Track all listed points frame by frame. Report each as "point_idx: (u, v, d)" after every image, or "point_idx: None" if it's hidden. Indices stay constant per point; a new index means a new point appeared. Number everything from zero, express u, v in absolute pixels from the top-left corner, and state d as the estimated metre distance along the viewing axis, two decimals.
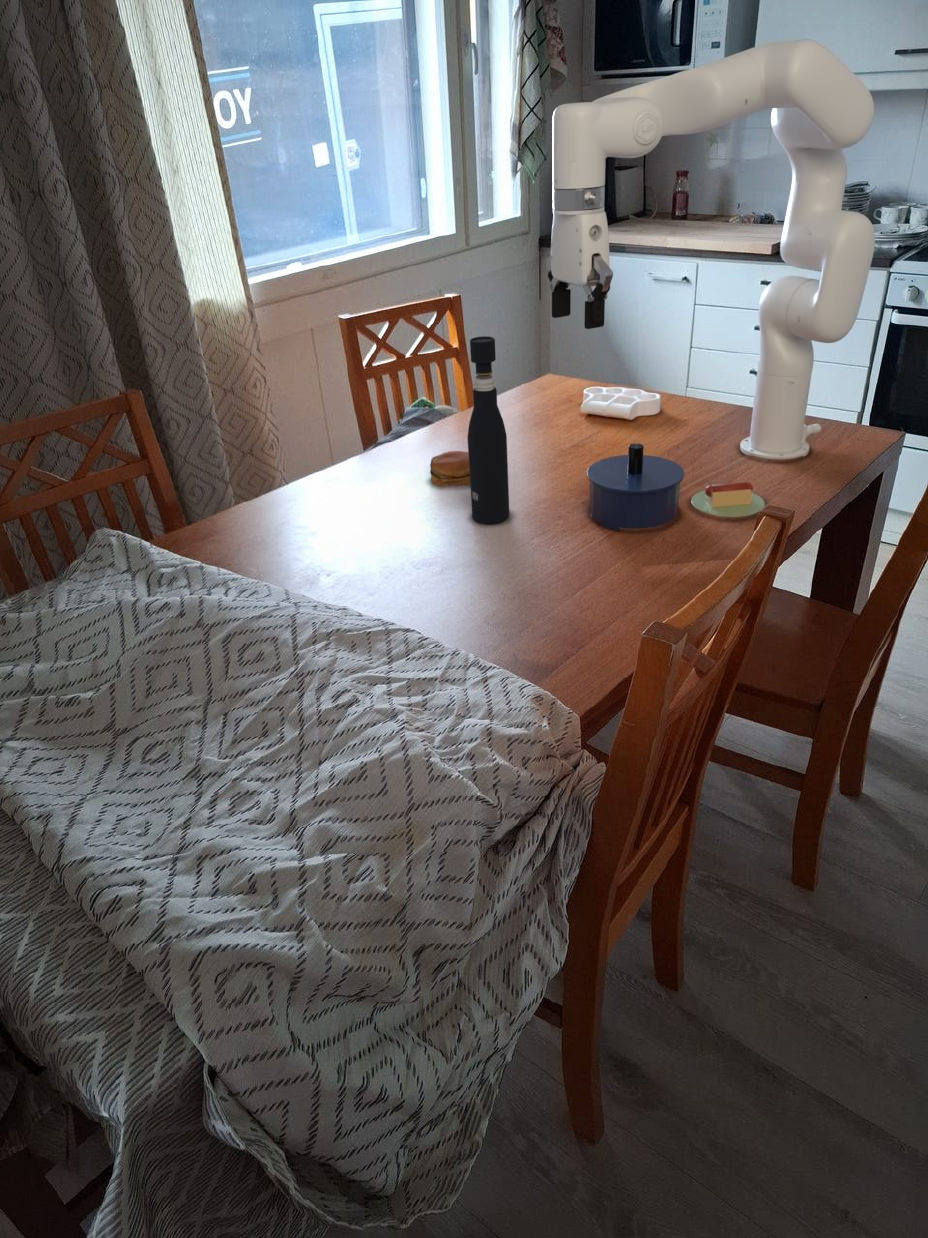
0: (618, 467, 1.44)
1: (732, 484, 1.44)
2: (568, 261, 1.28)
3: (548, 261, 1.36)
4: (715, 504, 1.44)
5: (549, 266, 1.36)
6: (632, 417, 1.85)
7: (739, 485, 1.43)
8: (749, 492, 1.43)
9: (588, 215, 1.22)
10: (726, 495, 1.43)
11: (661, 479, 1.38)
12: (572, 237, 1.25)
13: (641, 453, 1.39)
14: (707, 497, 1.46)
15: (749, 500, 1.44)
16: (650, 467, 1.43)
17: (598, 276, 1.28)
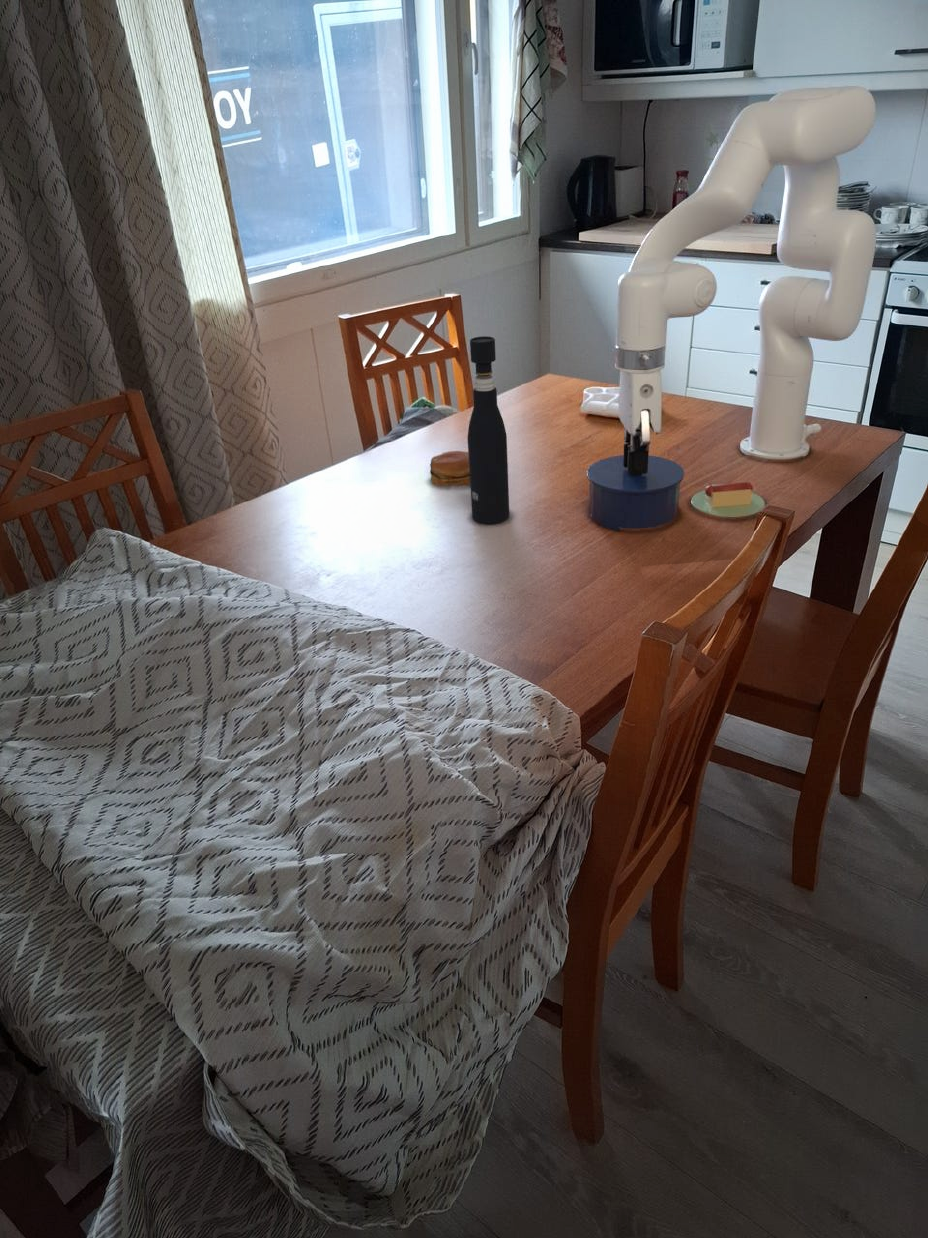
0: (618, 467, 1.44)
1: (732, 484, 1.44)
2: (624, 410, 1.35)
3: None
4: (715, 504, 1.44)
5: None
6: None
7: (739, 485, 1.43)
8: (749, 492, 1.43)
9: (640, 375, 1.29)
10: (726, 495, 1.43)
11: (661, 479, 1.38)
12: (627, 391, 1.32)
13: None
14: (707, 497, 1.46)
15: (749, 500, 1.44)
16: (650, 467, 1.43)
17: None
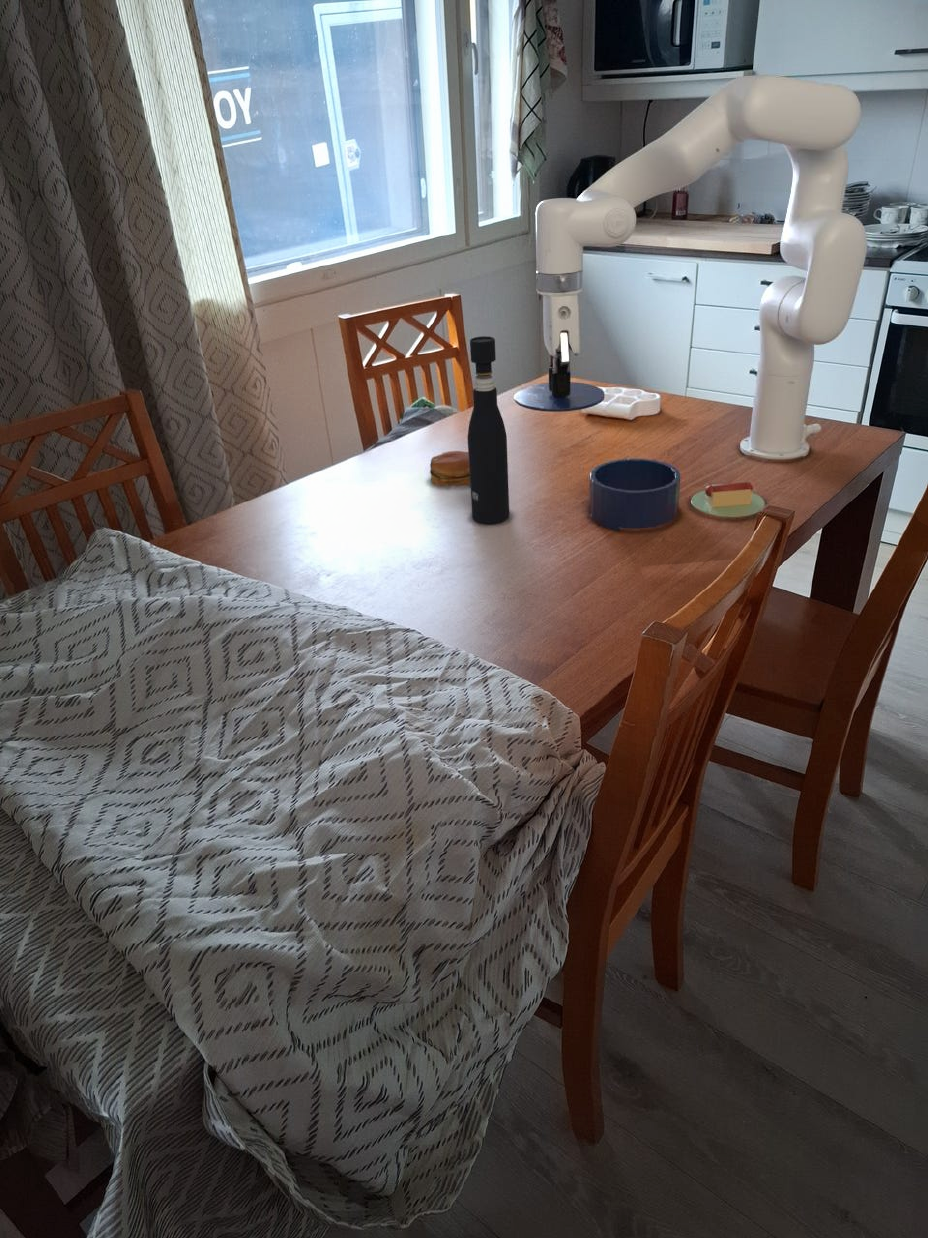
0: (545, 391, 1.53)
1: (732, 484, 1.44)
2: (546, 334, 1.44)
3: None
4: (715, 504, 1.44)
5: None
6: (632, 417, 1.85)
7: (739, 485, 1.43)
8: (749, 492, 1.43)
9: (557, 297, 1.38)
10: (726, 495, 1.43)
11: (582, 400, 1.47)
12: (547, 314, 1.41)
13: None
14: (707, 497, 1.46)
15: (749, 500, 1.44)
16: (574, 391, 1.52)
17: None
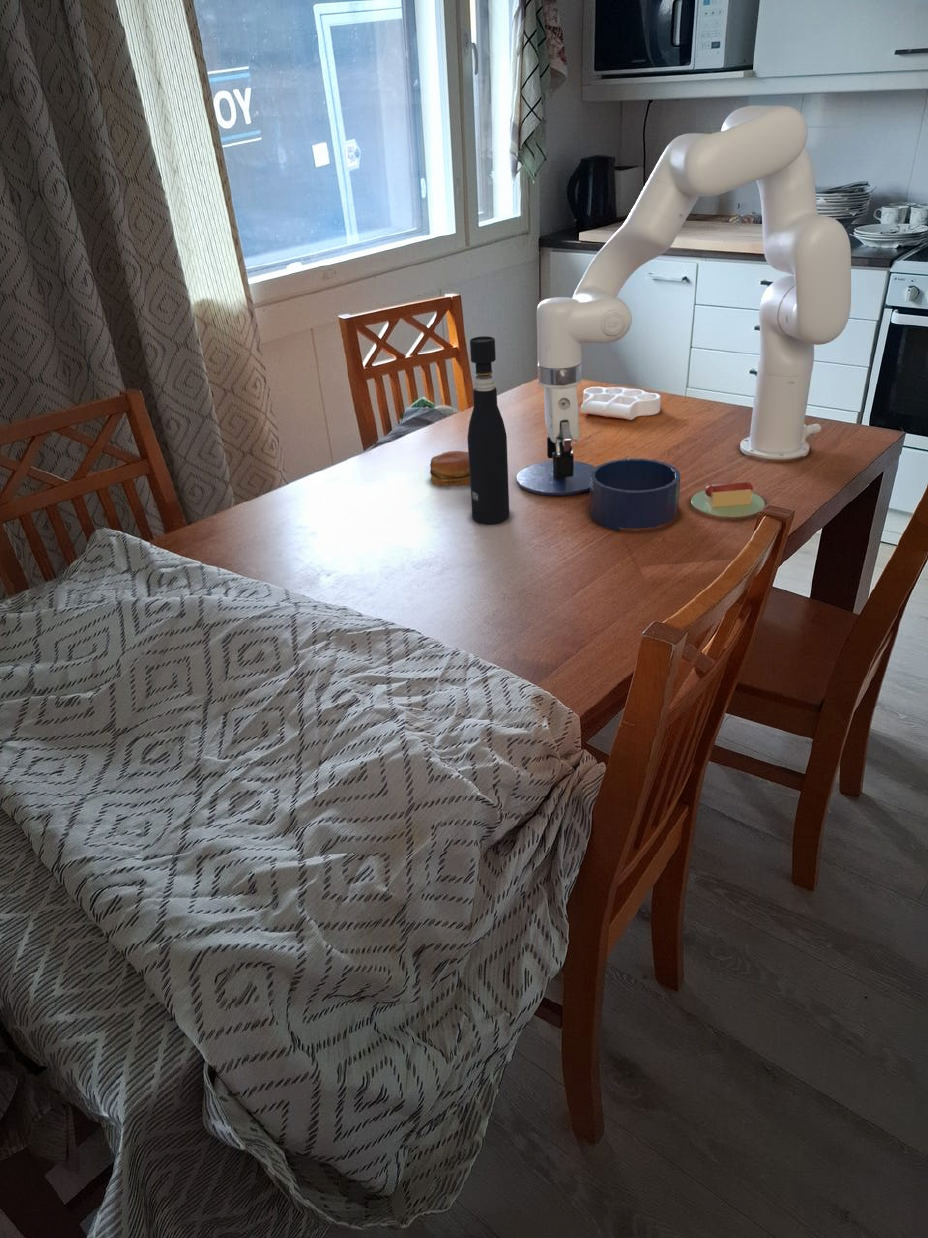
0: (545, 471, 1.61)
1: (732, 484, 1.44)
2: (547, 421, 1.52)
3: None
4: (715, 504, 1.44)
5: None
6: (632, 417, 1.85)
7: (739, 485, 1.43)
8: (749, 492, 1.43)
9: (557, 390, 1.46)
10: (726, 495, 1.43)
11: (581, 482, 1.55)
12: (548, 404, 1.49)
13: None
14: (707, 497, 1.46)
15: (749, 500, 1.44)
16: (573, 471, 1.60)
17: None
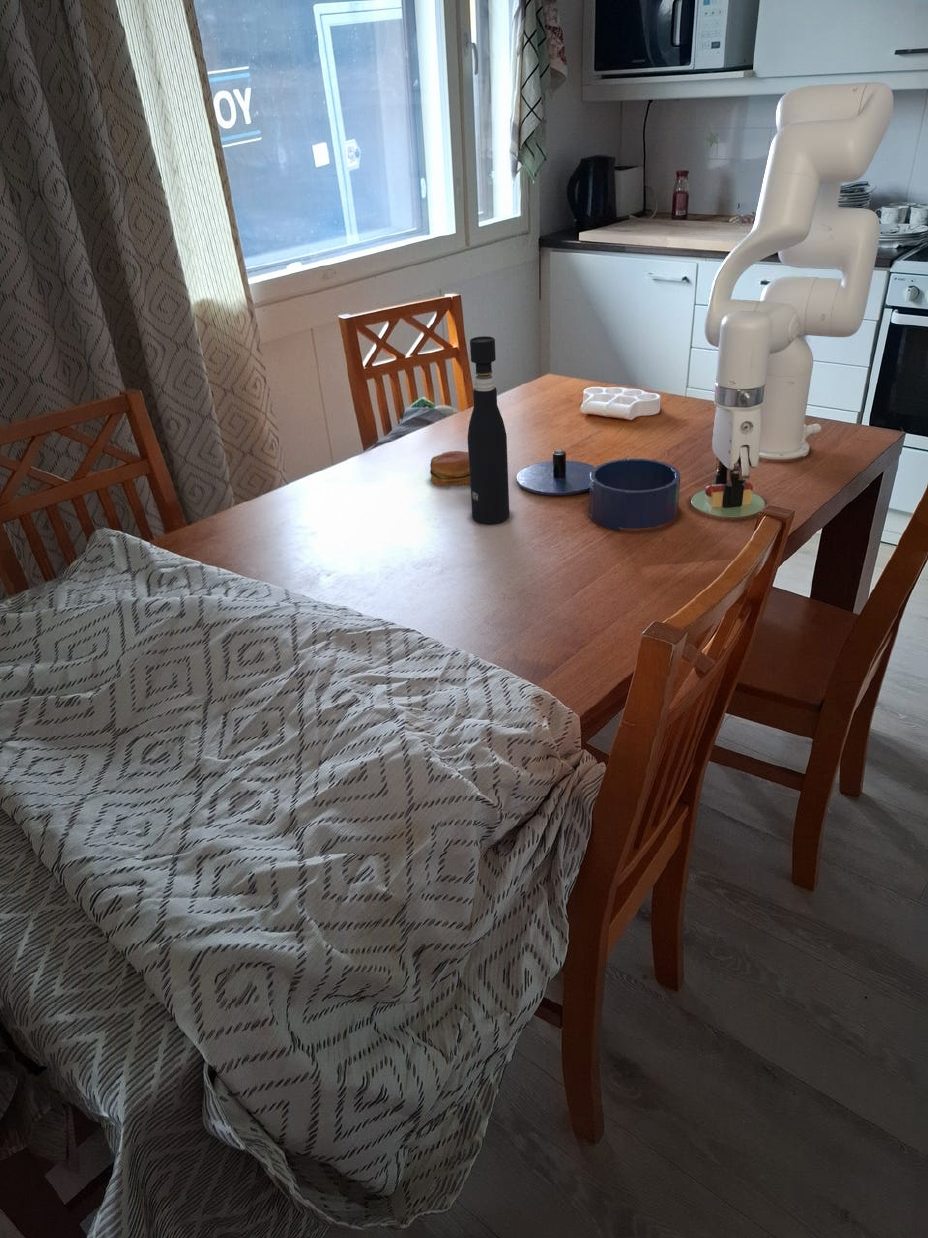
0: (545, 471, 1.61)
1: None
2: (721, 445, 1.39)
3: None
4: (715, 504, 1.44)
5: None
6: (632, 417, 1.85)
7: None
8: (749, 492, 1.43)
9: (741, 412, 1.33)
10: None
11: (581, 482, 1.55)
12: (726, 427, 1.36)
13: (563, 459, 1.56)
14: (707, 497, 1.46)
15: (749, 500, 1.44)
16: (573, 471, 1.60)
17: None
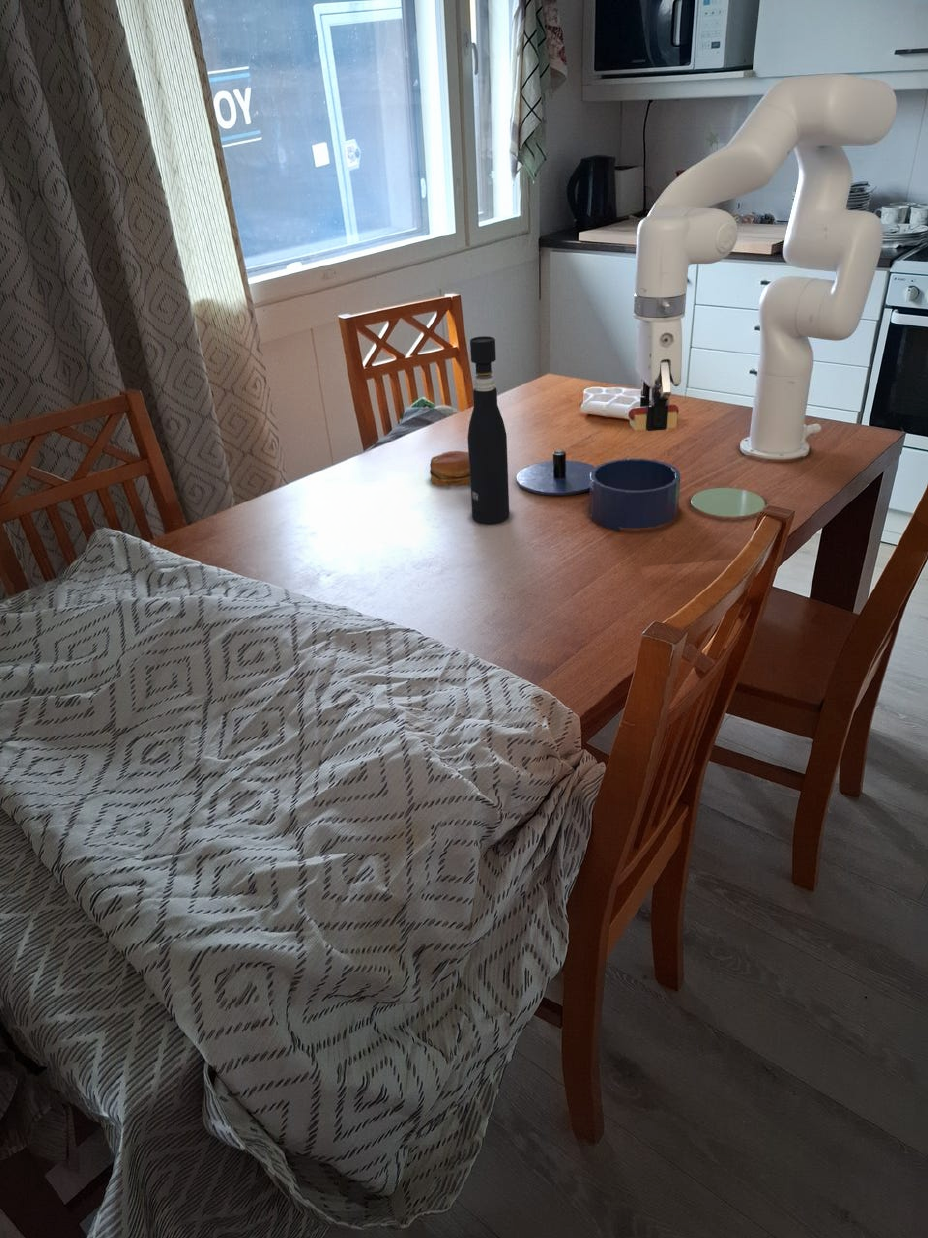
0: (545, 471, 1.61)
1: None
2: (643, 362, 1.31)
3: None
4: (638, 427, 1.36)
5: None
6: None
7: None
8: (674, 414, 1.35)
9: (660, 323, 1.25)
10: None
11: (581, 482, 1.55)
12: (646, 341, 1.28)
13: (563, 459, 1.56)
14: (631, 421, 1.38)
15: (674, 423, 1.36)
16: (573, 471, 1.60)
17: None
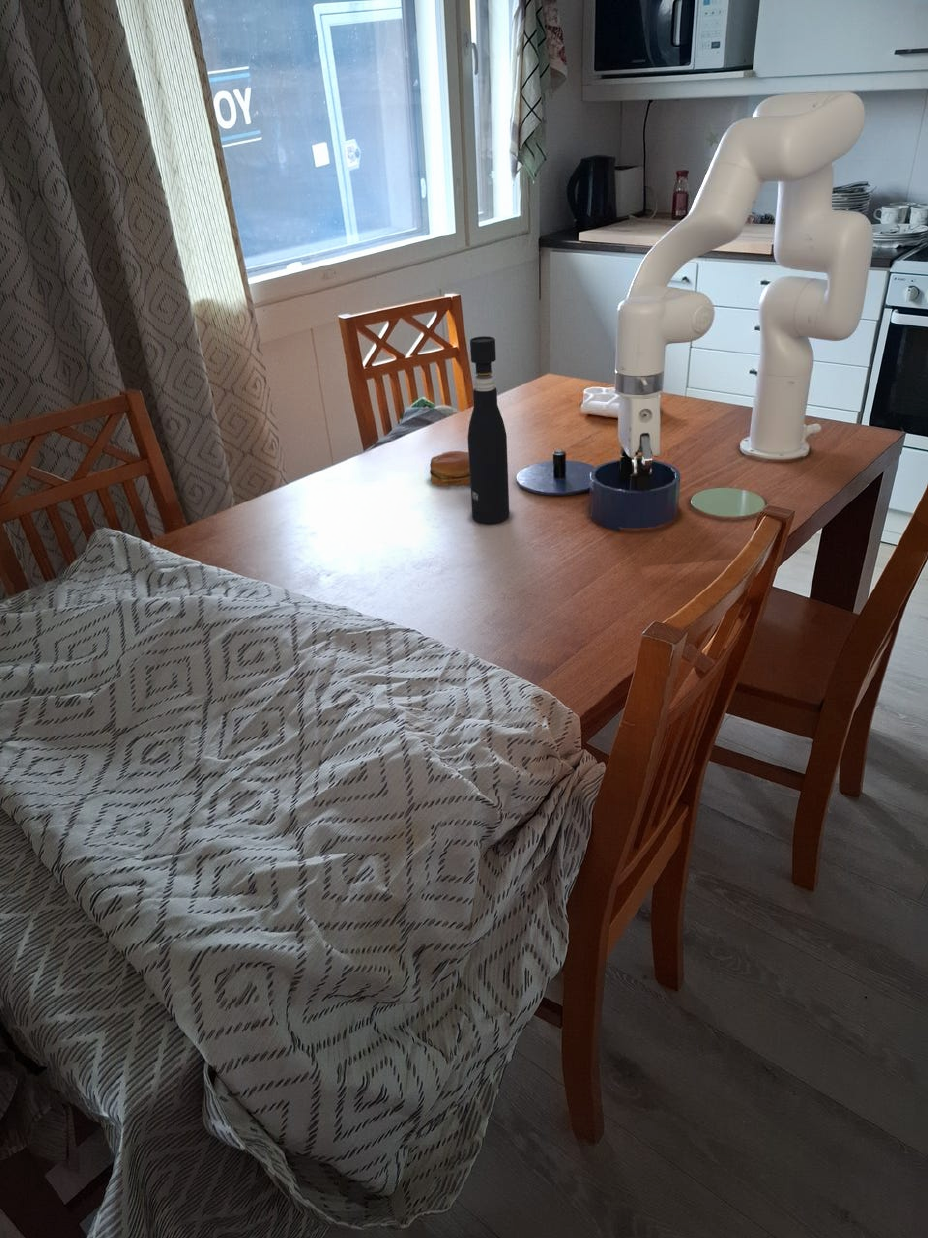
0: (545, 471, 1.61)
1: None
2: (623, 434, 1.37)
3: None
4: None
5: None
6: None
7: None
8: None
9: (639, 400, 1.31)
10: None
11: (581, 482, 1.55)
12: (626, 415, 1.34)
13: (563, 459, 1.56)
14: None
15: None
16: (573, 471, 1.60)
17: None
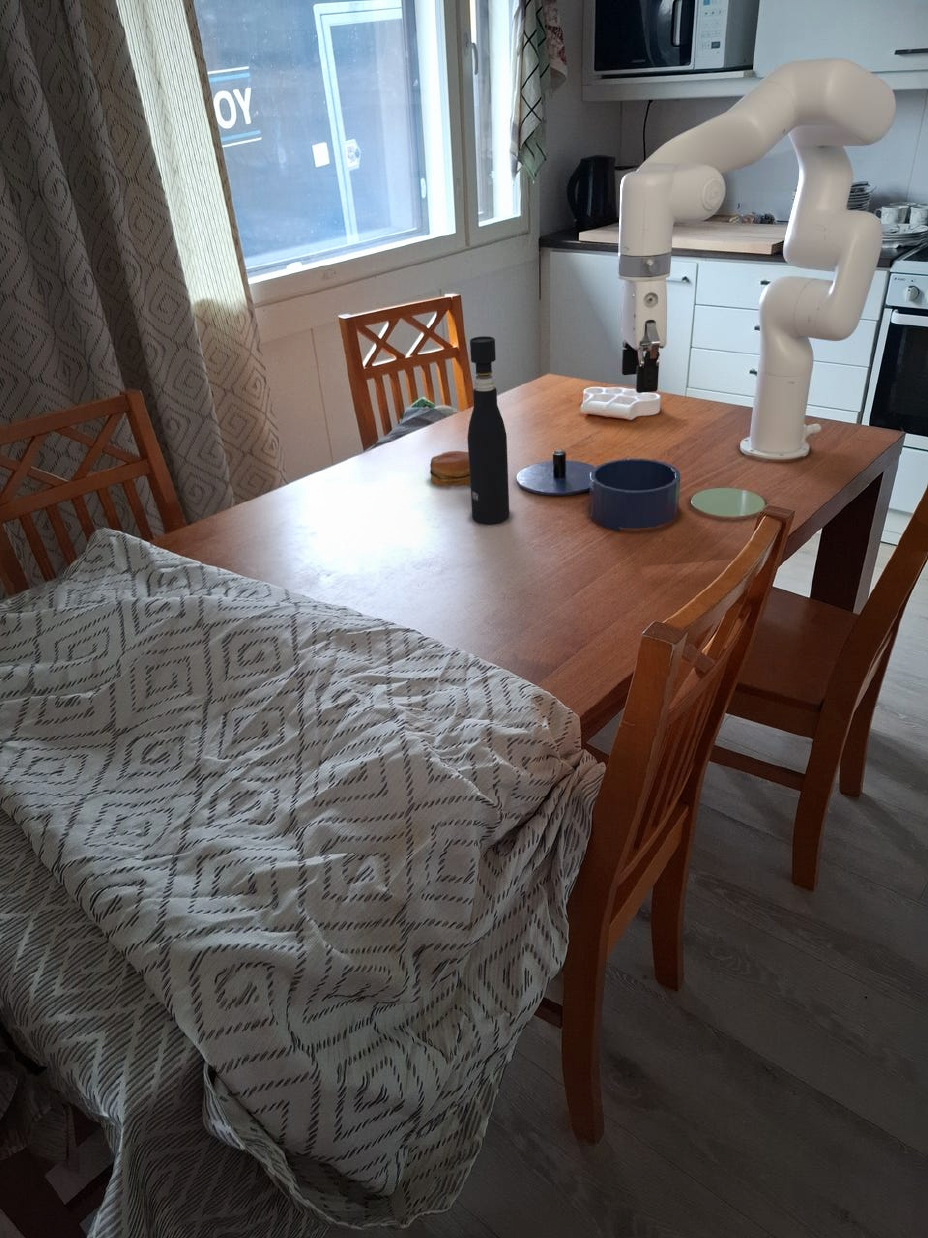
0: (545, 471, 1.61)
1: None
2: (627, 324, 1.28)
3: None
4: None
5: None
6: (632, 417, 1.85)
7: None
8: None
9: (644, 282, 1.22)
10: None
11: (581, 482, 1.55)
12: (630, 302, 1.25)
13: (563, 459, 1.56)
14: None
15: None
16: (573, 471, 1.60)
17: None
